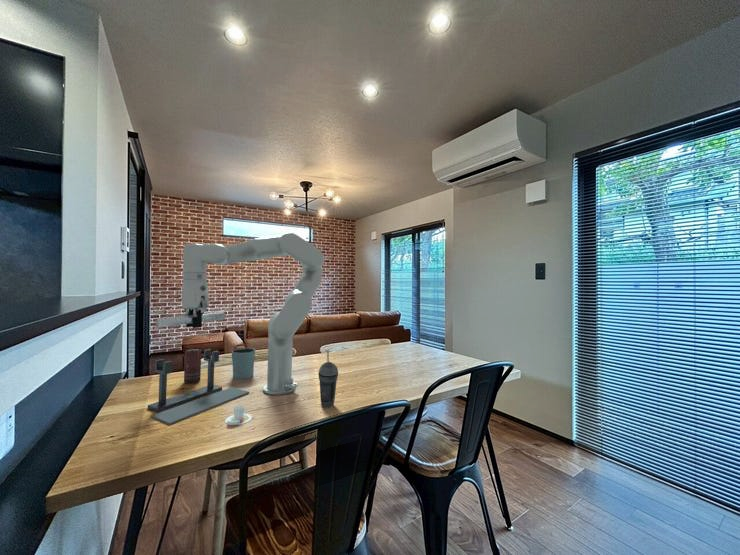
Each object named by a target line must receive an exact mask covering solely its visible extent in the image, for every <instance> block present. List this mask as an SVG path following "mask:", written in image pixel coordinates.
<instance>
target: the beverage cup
mask: <svg viewBox="0 0 740 555" xmlns="http://www.w3.org/2000/svg"><path fill="white" fill-rule="evenodd" d="M326 352H327V353H326V356H327V357H326V358H327V360H326V362H324V363H323V364H321V366H320V368H319V369H318V373H317V374H318V380H319V392H320V393H319V394H320V405H321V406H320V407H321V408H322V409H331V407H332V408H334V406H335V400H336V399H335V398H336V391H337V390H336V389H337V382H338V376H339V369H338V367H337V365H336V364H335V363H333V362H332V361H331V362H330V357H329V356H330V354H329V353H330V352H329V349H327V350H326Z"/></svg>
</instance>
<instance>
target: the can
mask: <svg viewBox="0 0 740 555" xmlns="http://www.w3.org/2000/svg"><path fill="white" fill-rule="evenodd" d="M183 365H184V367H183V368H184V371H183V373H184V375H183V382H184V383H185V384H188V385H192V383H193V384H196V383H199V382H200V381H201V375H202V374H201V371H202V349H201V348H199V347H192V348H187V349H186V350H185V352H184V364H183Z"/></svg>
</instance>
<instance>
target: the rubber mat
mask: <svg viewBox="0 0 740 555" xmlns="http://www.w3.org/2000/svg"><path fill="white" fill-rule="evenodd" d="M248 394H250V391H247V390H243V389H241V388H236V387H232V386H231V387H228V388H226V389H222V390H221V391H218V392H215V393H212V394H209V395H206V396H203V397H201V398H198V399H195V400H192V401H189V402H186V403H183V404H181V405H178V406H175V407H172V408H169V409H166V410H163V411H161V412H156V413H155V414H152V415H150V416H151V418H152V419H154V420H157V421H159V422H160V423H161V422H162V423H164V424H167V425H168V426H170V425H173V424H175V423H178V422H180V421H183V420H185V419H188V418H191V417H194V416H195V415H196V416H197V415H199V414H200V413H203V412H206V411H208V410H210V409H213V408H216V407H218V406H221V405H223V404H227V403H228V402H232V401H234V400H236V399H238V398H241V397H244V396H246V395H248Z"/></svg>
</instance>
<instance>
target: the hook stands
mask: <svg viewBox="0 0 740 555" xmlns="http://www.w3.org/2000/svg"><path fill="white" fill-rule="evenodd" d="M203 361H205V362H207V382H206V383H207V384H206V386H203V387H200V388H197V389H192V390H190V391H187V392H184V393H181V394H178V395H175V396H171V397H169V398H167V387H168V385H167V383H168V375H169V374H172V373H173V361H172V360H169V361H165V359H164V358H161V359H156V360H154V372H155V373H157V374H159V376H158V381H159V382H158V401H156V402H154V403H153V402H152V403H150V404H147V409H148V410H149V411H150V410H151V411H153V412H155V413H160V412H163V411H166V410H168V409H171V408H174V407H177V406H180V405H183V404H185V403H188V402H191V401H194V400H197V399H200V397H201V398H202V397H205V396H208V395H211V394H214V393H217V392H220V391H222V390H223V386H220V385H218V384H215V381H214V380H215V363H216V362H217V363H218V362H219V361H220V351H219V350H214V351H212V349H211V348H208V349H205V350H203Z"/></svg>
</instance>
